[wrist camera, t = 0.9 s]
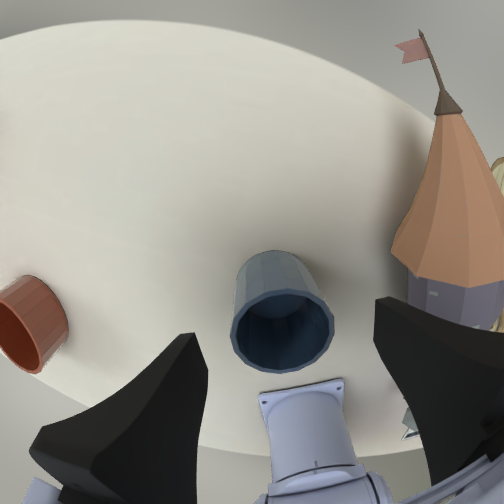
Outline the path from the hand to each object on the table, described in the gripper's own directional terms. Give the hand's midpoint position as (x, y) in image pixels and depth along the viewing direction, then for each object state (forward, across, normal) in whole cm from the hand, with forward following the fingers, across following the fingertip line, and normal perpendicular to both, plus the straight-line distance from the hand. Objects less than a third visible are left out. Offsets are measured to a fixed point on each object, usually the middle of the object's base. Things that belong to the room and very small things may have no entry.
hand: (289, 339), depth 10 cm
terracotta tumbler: (+9, +23, +1) cm, 25 cm away
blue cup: (+9, 0, +2) cm, 9 cm away
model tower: (+5, -15, +16) cm, 22 cm away
